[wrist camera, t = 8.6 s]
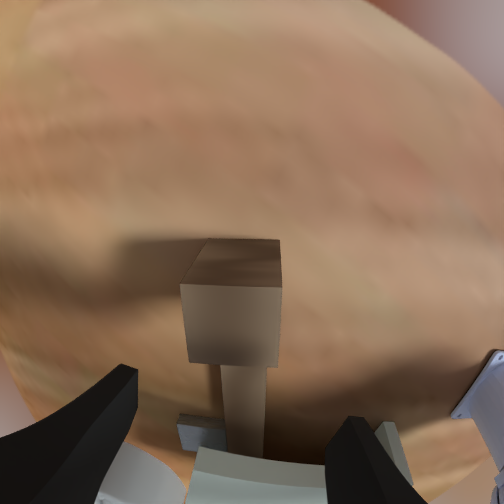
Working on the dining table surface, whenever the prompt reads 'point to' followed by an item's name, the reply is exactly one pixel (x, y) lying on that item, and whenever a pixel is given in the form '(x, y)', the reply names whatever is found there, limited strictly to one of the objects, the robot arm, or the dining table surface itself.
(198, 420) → the grey square block
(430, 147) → the dining table surface
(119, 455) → the lumpy-topped squat cylinder
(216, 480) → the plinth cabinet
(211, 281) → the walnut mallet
